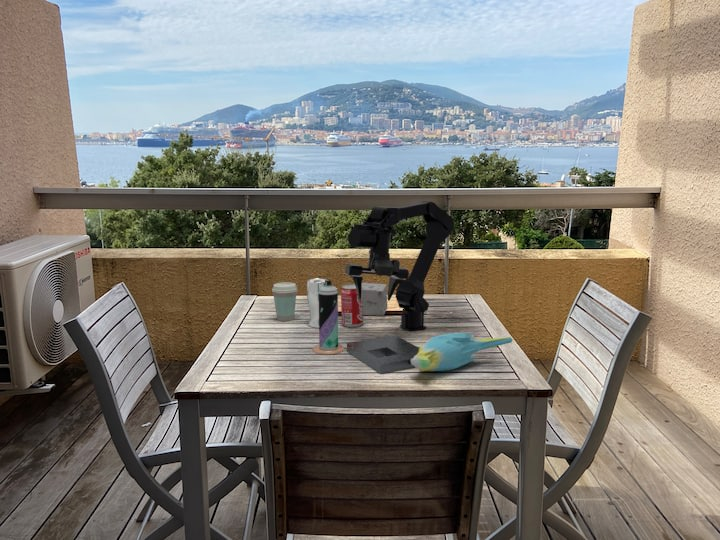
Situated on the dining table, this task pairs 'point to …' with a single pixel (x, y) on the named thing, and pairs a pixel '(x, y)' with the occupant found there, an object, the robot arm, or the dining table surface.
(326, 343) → the spray can
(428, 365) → the decorative bird
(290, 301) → the coffee cup
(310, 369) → the dining table surface
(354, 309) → the soda can
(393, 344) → the square hole plate
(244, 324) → the dining table surface
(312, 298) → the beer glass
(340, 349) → the terracotta coaster
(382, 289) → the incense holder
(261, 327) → the dining table surface
